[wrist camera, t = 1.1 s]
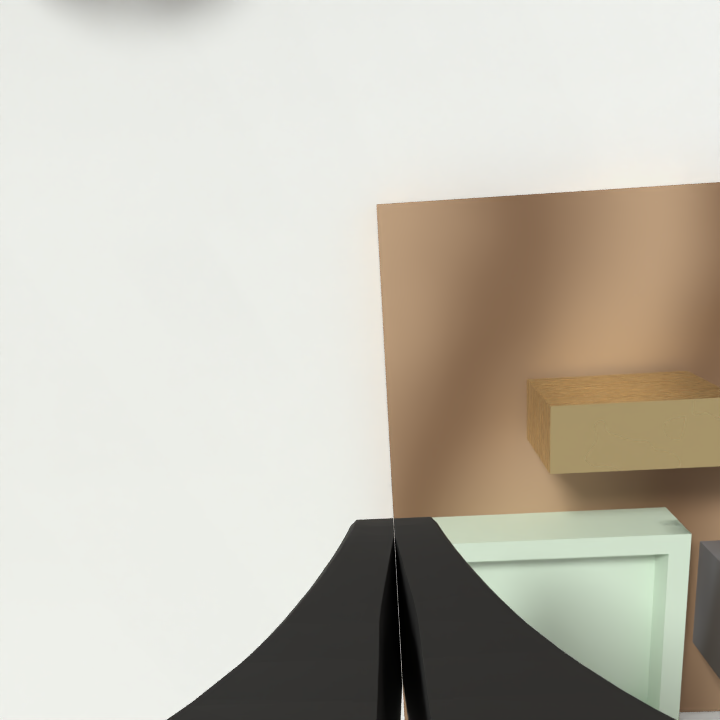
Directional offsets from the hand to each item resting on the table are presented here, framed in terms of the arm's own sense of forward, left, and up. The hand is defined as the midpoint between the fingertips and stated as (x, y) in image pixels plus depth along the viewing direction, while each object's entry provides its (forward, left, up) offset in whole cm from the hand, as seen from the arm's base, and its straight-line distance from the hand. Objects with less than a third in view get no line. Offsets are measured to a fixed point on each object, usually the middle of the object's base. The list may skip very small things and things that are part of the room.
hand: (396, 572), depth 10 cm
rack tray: (-4, +7, -8) cm, 12 cm away
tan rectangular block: (-6, 0, -8) cm, 10 cm away
